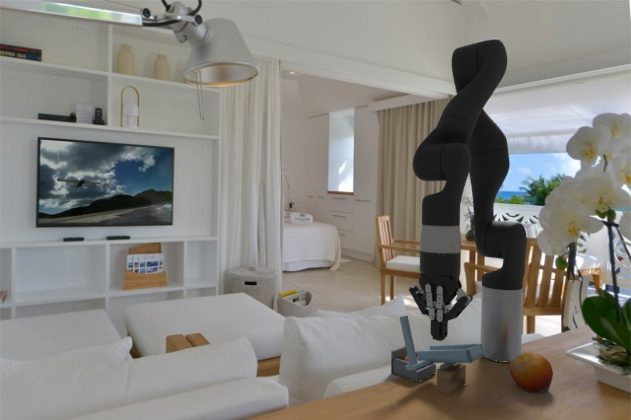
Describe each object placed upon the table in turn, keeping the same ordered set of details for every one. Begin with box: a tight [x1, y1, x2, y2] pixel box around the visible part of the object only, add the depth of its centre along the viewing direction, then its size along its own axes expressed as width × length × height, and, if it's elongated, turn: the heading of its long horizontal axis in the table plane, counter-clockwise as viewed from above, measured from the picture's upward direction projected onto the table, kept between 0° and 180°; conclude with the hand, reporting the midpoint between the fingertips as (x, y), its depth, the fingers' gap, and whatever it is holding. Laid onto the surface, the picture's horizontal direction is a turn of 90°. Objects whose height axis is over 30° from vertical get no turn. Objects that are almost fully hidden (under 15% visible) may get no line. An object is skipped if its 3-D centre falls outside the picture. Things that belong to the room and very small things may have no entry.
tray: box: [390, 345, 437, 383], centre depth 96 cm, size 7×7×5 cm
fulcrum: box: [436, 363, 467, 395], centre depth 89 cm, size 7×3×6 cm, turn 133°
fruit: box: [508, 352, 554, 393], centre depth 89 cm, size 8×8×8 cm
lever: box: [399, 315, 485, 370], centre depth 88 cm, size 11×12×10 cm
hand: (438, 339), depth 83 cm, fingers closed
